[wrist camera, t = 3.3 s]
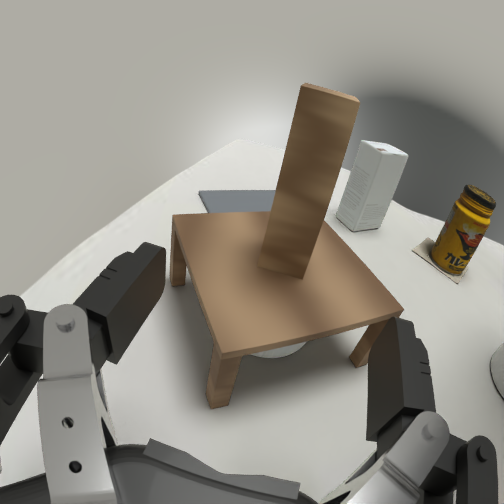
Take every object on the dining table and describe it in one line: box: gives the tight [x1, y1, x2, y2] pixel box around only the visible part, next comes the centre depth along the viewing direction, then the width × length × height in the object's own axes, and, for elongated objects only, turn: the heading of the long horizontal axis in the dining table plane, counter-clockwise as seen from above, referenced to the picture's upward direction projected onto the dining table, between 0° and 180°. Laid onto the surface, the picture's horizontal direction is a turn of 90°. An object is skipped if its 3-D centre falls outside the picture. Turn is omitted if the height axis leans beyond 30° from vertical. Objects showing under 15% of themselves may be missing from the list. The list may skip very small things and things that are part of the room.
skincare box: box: [336, 140, 408, 231], centre depth 42 cm, size 6×4×12 cm
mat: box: [199, 190, 276, 213], centre depth 41 cm, size 14×14×1 cm
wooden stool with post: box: [170, 83, 404, 409], centre depth 22 cm, size 13×13×19 cm
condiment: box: [412, 185, 496, 283], centre depth 39 cm, size 7×8×12 cm
